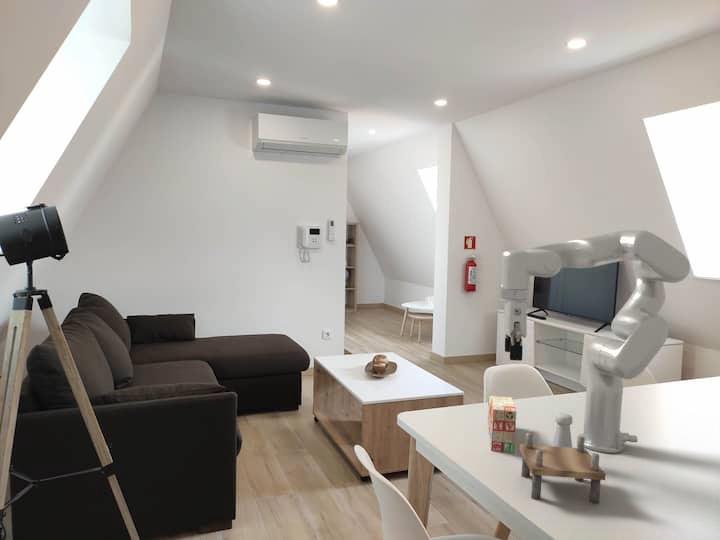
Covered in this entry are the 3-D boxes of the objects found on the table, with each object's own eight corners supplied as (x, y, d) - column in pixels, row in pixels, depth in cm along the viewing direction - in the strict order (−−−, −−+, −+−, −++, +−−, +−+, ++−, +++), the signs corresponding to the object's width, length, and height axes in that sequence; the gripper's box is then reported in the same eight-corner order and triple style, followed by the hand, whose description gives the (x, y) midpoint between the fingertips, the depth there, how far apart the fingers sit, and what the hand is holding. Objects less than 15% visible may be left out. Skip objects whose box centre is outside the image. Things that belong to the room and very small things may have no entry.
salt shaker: (546, 456, 146) (548, 410, 145) (566, 456, 146) (569, 410, 145) (555, 466, 140) (558, 418, 139) (576, 466, 141) (579, 418, 140)
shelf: (583, 477, 134) (586, 435, 133) (603, 506, 120) (606, 458, 119) (518, 472, 135) (520, 430, 135) (530, 500, 122) (533, 453, 121)
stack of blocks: (487, 424, 170) (489, 386, 169) (507, 426, 169) (509, 388, 168) (491, 451, 149) (493, 408, 148) (514, 453, 148) (516, 410, 147)
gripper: (534, 299, 138) (532, 364, 140) (523, 291, 155) (521, 349, 157) (505, 298, 139) (503, 363, 141) (497, 291, 156) (495, 348, 158)
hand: (513, 355), depth 149 cm, fingers open, 9 cm apart
